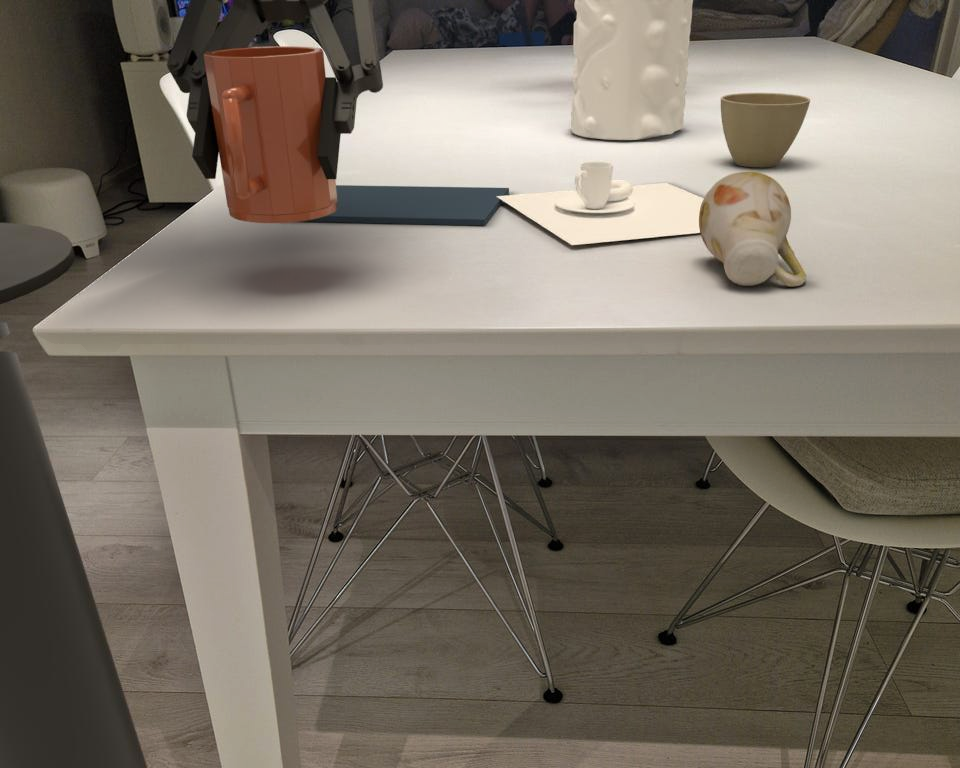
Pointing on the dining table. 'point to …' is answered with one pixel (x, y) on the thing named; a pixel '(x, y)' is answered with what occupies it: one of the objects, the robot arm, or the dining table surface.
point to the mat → (415, 205)
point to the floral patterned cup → (749, 229)
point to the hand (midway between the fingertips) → (265, 167)
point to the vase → (630, 68)
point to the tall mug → (270, 132)
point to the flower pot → (761, 126)
